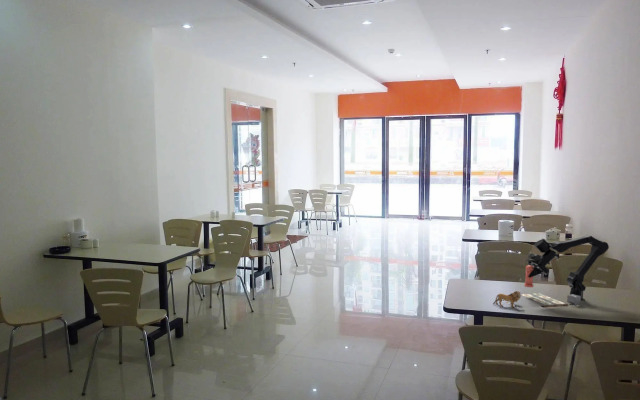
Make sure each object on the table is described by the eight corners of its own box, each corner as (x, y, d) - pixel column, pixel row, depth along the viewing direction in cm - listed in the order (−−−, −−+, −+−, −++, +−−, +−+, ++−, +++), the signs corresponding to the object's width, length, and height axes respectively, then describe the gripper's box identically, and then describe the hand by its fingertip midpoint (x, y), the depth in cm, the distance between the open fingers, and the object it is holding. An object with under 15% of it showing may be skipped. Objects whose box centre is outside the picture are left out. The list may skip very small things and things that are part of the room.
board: (540, 295, 294) (540, 292, 293) (568, 306, 271) (568, 303, 271) (517, 296, 290) (517, 294, 290) (543, 307, 267) (543, 305, 267)
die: (571, 302, 279) (572, 294, 278) (580, 304, 274) (580, 296, 274) (567, 303, 276) (567, 295, 275) (575, 306, 272) (576, 297, 271)
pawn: (529, 284, 289) (530, 264, 288) (535, 287, 284) (536, 265, 283) (522, 285, 287) (523, 264, 286) (528, 287, 282) (529, 266, 281)
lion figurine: (519, 305, 271) (520, 290, 270) (520, 308, 266) (521, 292, 265) (492, 303, 274) (492, 288, 274) (493, 306, 269) (493, 290, 269)
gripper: (530, 245, 293) (511, 263, 294) (544, 251, 274) (524, 270, 275) (542, 258, 294) (523, 276, 295) (557, 265, 275) (537, 283, 276)
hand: (527, 276), depth 285 cm, fingers closed on pawn, 4 cm apart
